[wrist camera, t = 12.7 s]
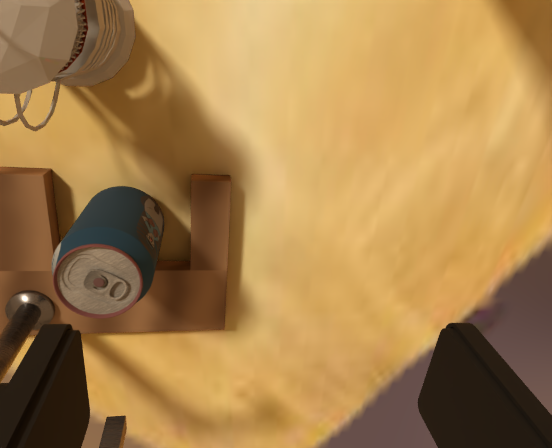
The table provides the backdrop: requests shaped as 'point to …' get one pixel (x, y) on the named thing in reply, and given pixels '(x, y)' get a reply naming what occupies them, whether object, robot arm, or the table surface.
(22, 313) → the knobbed metal rod
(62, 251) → the soda can
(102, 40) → the french press
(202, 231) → the u-shaped wooden block
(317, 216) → the table surface
